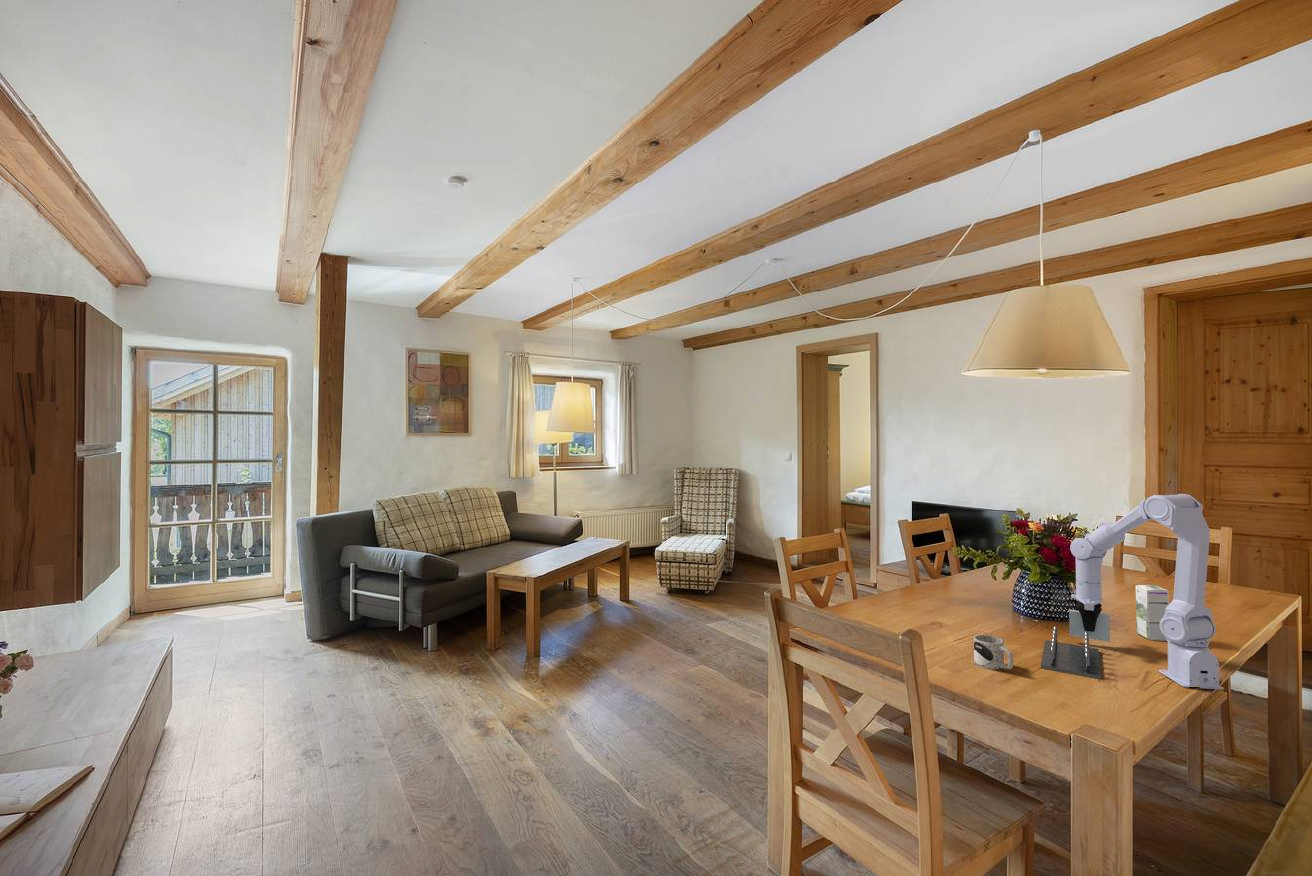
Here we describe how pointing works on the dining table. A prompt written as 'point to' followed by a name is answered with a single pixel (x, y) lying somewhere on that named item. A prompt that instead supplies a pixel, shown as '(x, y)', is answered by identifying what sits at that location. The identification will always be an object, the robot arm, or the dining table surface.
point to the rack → (1071, 657)
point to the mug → (991, 652)
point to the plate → (1099, 634)
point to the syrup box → (1150, 610)
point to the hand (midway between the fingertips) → (1089, 630)
